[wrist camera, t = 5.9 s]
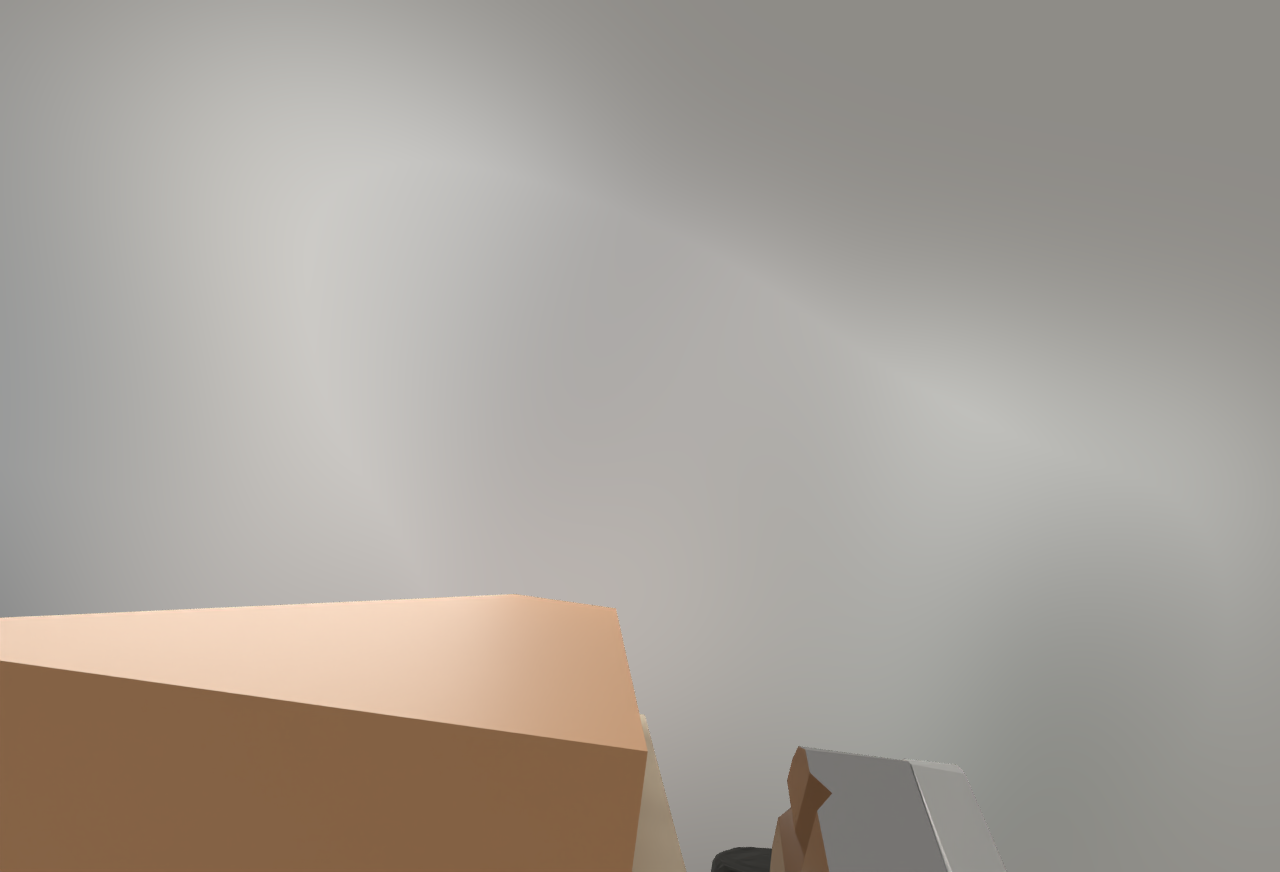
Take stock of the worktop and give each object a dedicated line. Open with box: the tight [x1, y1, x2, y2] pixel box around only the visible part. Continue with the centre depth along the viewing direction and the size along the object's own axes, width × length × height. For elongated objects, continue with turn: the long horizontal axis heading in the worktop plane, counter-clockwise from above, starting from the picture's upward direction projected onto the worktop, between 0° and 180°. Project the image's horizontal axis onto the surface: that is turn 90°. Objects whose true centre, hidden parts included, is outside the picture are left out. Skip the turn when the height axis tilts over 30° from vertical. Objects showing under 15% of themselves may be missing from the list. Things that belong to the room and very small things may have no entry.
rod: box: [0, 594, 648, 872], centre depth 16 cm, size 3×26×3 cm, turn 2°
